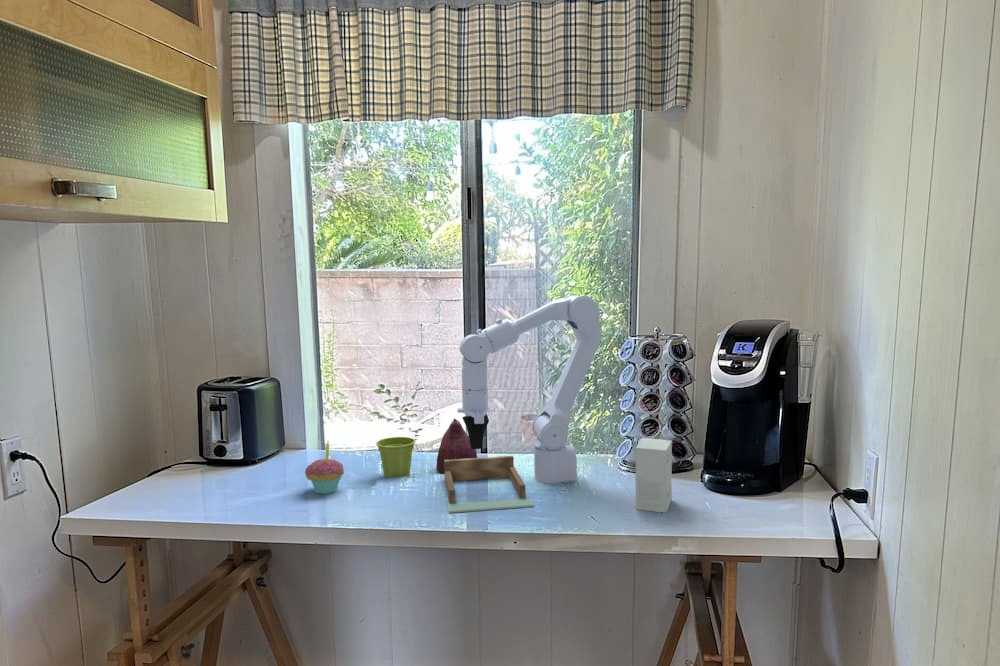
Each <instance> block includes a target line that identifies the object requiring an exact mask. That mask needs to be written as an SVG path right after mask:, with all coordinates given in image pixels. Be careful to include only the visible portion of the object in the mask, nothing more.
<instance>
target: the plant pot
mask: <svg viewBox="0 0 1000 666" xmlns="http://www.w3.org/2000/svg"><path fill="white" fill-rule="evenodd" d="M415 444H416V439H415V438H413V437H409V436H393V437H392V436H391V437H386V438H381V439H380V440H379V439H378V440H377V441H376V442H375V445H376V447H377V449H378V451H379V455H380V460H381V465H382V471H383V476H384V478H385V479H388V478H389V479H391V478H392V479H393V478H405V477H406V478H408V477H409V476H410V475H411V467H412V456H413V449H414V446H415Z"/></svg>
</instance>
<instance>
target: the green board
mask: <svg viewBox="0 0 1000 666" xmlns="http://www.w3.org/2000/svg"><path fill="white" fill-rule="evenodd" d="M446 508H447V512H448V514H449V515H450V514H451V515H452V514H462V513H463V514H465V513H477V512H487V511H488V512H489V511H504V510H516V509H517V510H518V509H529V508H535V505H534V504H533V502H532V501H531V499H530V498H515V499H505V500H503V499H502V500H491V501H490V500H488V501H477V502H475V501H473V502H463V503H461V502H460V503H448V504H446Z"/></svg>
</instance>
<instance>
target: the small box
mask: <svg viewBox="0 0 1000 666" xmlns="http://www.w3.org/2000/svg"><path fill="white" fill-rule="evenodd" d="M672 447H673V441H672V440H669V439H661V438H659V439H658V438H646V437H643V438H641V440H640V441H639V442H638V443H637V445H636V446H635V449H634V451H635V510H637V509H638V511H646V512H647V511H648V512H653V511H654V512H655V513H661V512H663V513H662V514H666V513H667V512H668V509H669V507H670V505H671V502H672V501H673V500H672V499H673V497H672V494H673V493H672V490H673V489H672V486H673V485H672V474H673V473H672V471H673V470H672V468H673V467H672V466H673V460H672V458H673V457H672V455H673V452H672V449H673V448H672Z"/></svg>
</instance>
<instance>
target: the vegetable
mask: <svg viewBox="0 0 1000 666" xmlns="http://www.w3.org/2000/svg"><path fill="white" fill-rule="evenodd" d="M440 441H441V442H440V445H439V448H438V453H437V457H436V464H435V465H436V472H438V473H440V474H444V475H445V471H444V460H451V459H467V458H478V454H477V449H472V448H471V445H470V440H469V435H468V433H467V432H466V431H465V429H464V428H463V426H462V424H461V422H460V421H459V420H457V419H456V418H453V419H452V421H451V422H450V424H449V426H448V428H447V429H446V431H445V432H444V434H443V436H442V438H441V440H440Z"/></svg>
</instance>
